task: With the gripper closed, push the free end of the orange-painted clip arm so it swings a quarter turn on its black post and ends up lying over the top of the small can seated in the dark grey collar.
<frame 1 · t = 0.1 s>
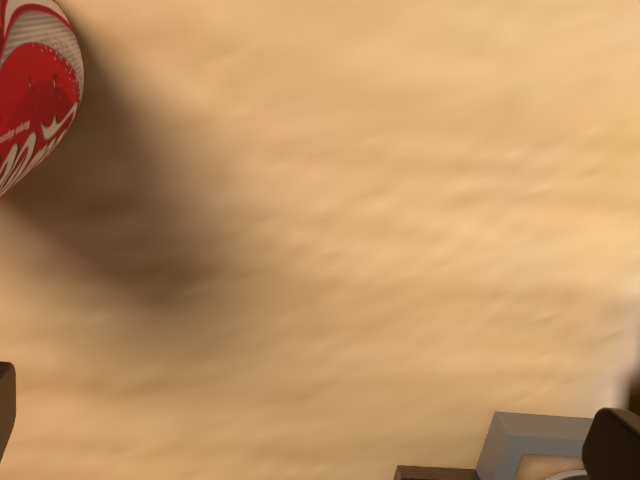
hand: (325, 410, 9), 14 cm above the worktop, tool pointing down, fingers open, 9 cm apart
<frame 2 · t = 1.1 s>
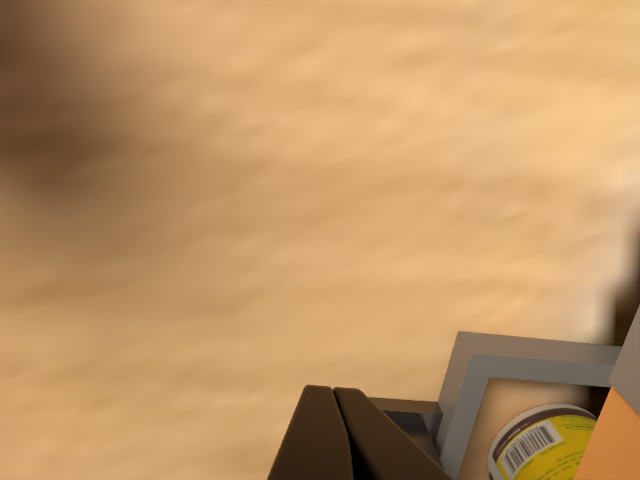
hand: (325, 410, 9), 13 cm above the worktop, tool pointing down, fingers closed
clip post: (382, 437, 26), on the worktop
collar: (542, 447, 27), on the worktop
supplement bottle: (540, 443, 27), resting in collar
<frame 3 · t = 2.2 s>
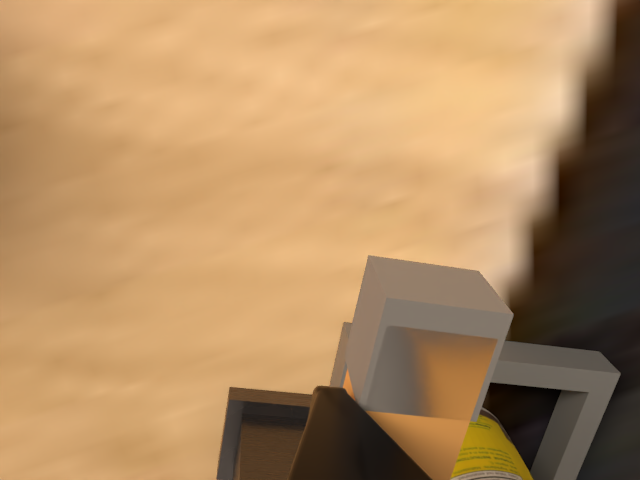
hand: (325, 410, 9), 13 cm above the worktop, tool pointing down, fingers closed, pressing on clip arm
clip post: (271, 431, 25), on the worktop
collar: (441, 445, 26), on the worktop
supplement bottle: (440, 442, 26), resting in collar
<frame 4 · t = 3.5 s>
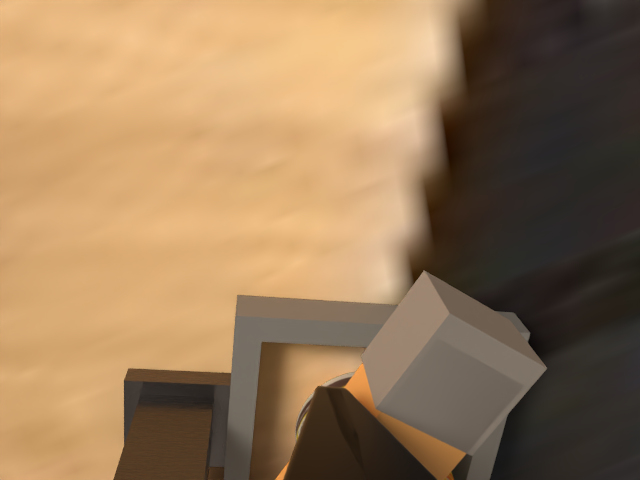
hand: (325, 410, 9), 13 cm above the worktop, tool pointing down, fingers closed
clip post: (179, 412, 24), on the worktop
collar: (360, 419, 25), on the worktop
supplement bottle: (359, 416, 25), resting in collar
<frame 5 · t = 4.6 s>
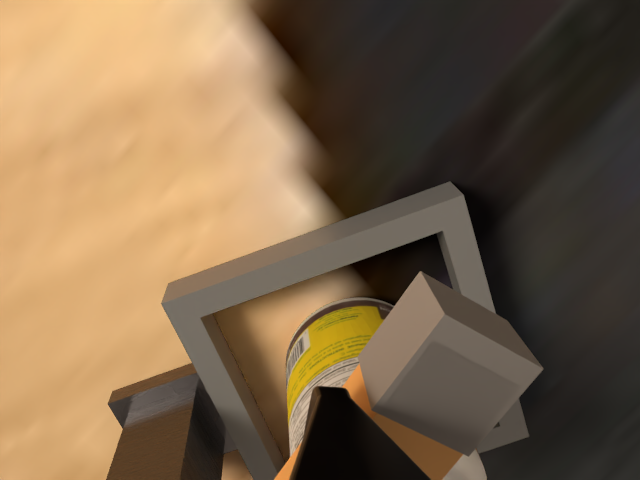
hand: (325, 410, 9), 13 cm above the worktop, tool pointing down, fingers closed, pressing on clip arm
clip post: (180, 413, 24), on the worktop
collar: (354, 352, 24), on the worktop
supplement bottle: (353, 349, 24), resting in collar
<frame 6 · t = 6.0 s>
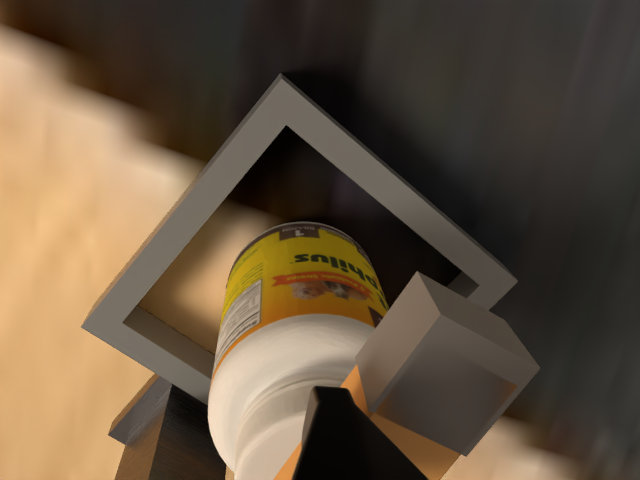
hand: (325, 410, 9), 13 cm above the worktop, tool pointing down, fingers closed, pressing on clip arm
clip post: (182, 413, 24), on the worktop
collar: (301, 284, 23), on the worktop
supplement bottle: (300, 281, 23), resting in collar
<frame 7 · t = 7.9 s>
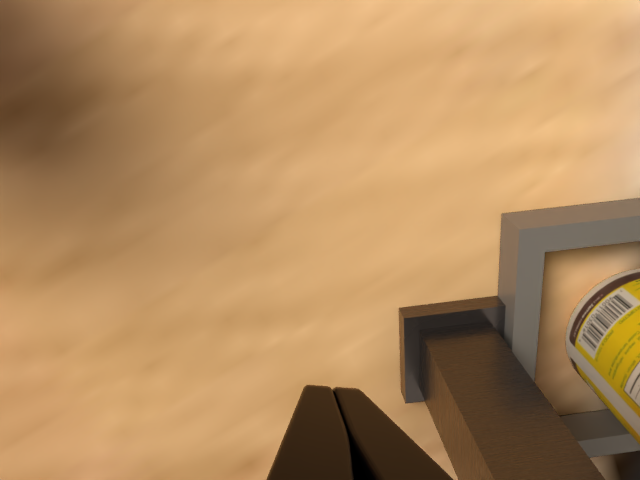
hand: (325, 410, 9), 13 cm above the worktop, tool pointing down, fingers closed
clip post: (448, 344, 24), on the worktop
collar: (623, 322, 25), on the worktop
supplement bottle: (620, 319, 25), resting in collar
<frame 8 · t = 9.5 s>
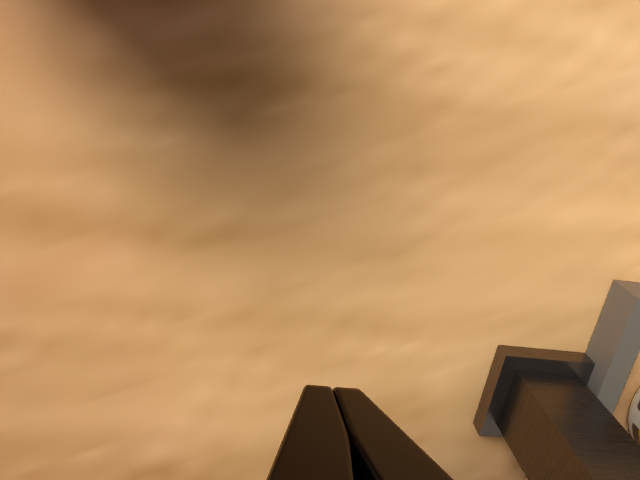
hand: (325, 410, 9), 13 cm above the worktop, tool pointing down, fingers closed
clip post: (528, 388, 26), on the worktop
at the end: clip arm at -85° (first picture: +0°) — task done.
